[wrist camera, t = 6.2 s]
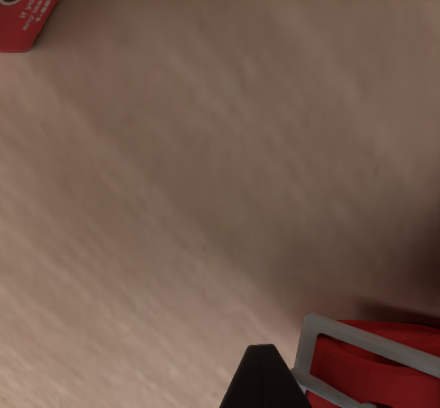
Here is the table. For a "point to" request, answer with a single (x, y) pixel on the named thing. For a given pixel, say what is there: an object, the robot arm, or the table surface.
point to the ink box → (22, 23)
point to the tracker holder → (368, 364)
